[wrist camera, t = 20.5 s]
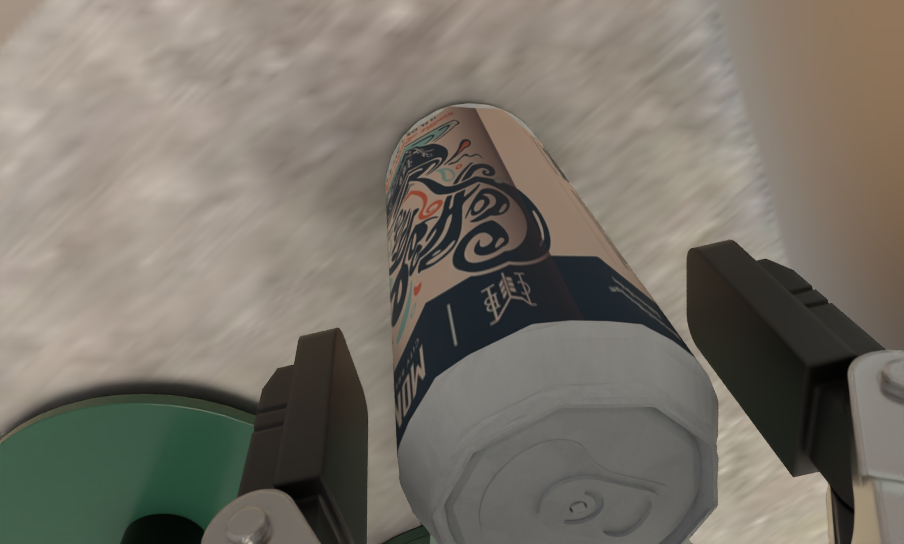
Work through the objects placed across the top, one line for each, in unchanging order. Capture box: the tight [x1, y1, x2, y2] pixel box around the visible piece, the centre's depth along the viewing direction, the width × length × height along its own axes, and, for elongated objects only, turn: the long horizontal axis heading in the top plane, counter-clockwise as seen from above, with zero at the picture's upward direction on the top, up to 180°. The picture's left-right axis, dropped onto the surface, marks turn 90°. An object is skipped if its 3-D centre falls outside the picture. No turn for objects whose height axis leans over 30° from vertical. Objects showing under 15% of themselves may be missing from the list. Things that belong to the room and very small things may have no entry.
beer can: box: [385, 103, 718, 544], centre depth 13 cm, size 5×5×12 cm
